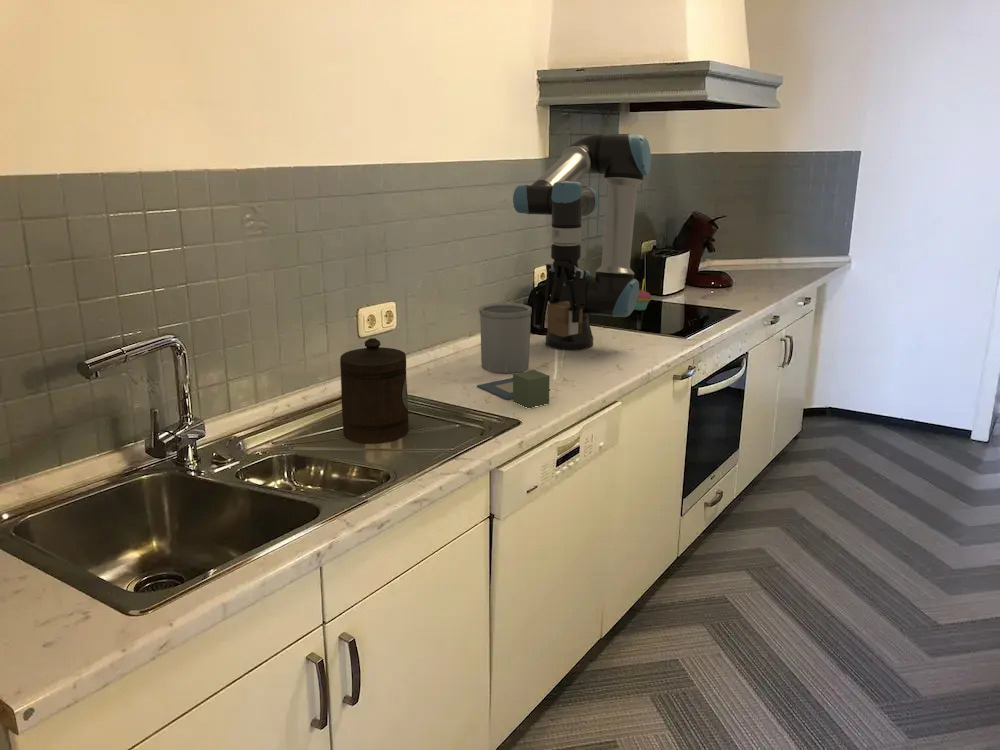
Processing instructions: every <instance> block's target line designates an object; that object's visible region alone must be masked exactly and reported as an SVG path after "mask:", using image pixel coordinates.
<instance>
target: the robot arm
mask: <svg viewBox="0 0 1000 750" xmlns="http://www.w3.org/2000/svg"><path fill="white" fill-rule="evenodd" d="M651 165H652V153H651V148H650V144H649V141H648V139H647V137H645V136H644V135H643V134H636V133H605V134H602V133H595V134H592V135H591V134H590V135H587V136H585V137H583V138H580V139H578V140H577V141H575V142H573V143H571V144H570V145H569V146H567V147H566V148H565V149H564V150H563V151H562V153H561V154H560V158H559V159H558V160H557V161H555V162H554V163H553V164H552V166H551V167H549V168H548V169H547V170H546V171H545V172H544V173H543V174H541V175H540V177H539V178H537V179H536V180H534V182H533V183H532V184H530V185H529V184H523V185H522V184H521V185H517V186H516V187H515V189H514V191H513V195H512V203H513V208H514V210H515V211H516V213H518V214H527V215H541V216H542V215H545V216H547V215H549V216H551V242H552V245H551V248H550V249H551V251H550V257H551V259H552V260H553V263H547V264H546V265H545V270H546V277H545V279H546V280H545V293H544V300H545V301H546V302H548V304H552V303H558V302H564V301H569V302H570V307H571V309H569V317H568V335H570V336H565V337H561V336H558V335H555V334H552V333H549V332H547V333H546V336H545V345H546V346H547V347H549V348H553V349H556V350H565V351H567V350H568V351H574V350H577V351H578V350H585V349H590V348H591V347H593V345H594V335H593V333H592V328H591V325H590V322H589V315H596V316H605V317H613V318H617V317H619V318H626V317H627V318H628V317H629V316H630V315H631V314H632V313H633V311H635V310H634V308H635V305H636V303H637V299H638V295H639V290H640V283H639V281H638V280H637V279H636V278H635V272H634V271H633V270H632V268H631V257H632V247H633V246H632V245H633V235H634V226H635V225H634V223H635V215H636V204H637V192H638V187H639V186H640V185H641V184H642V183H643V182H644V176H647V175H649V174H650V173H651V167H652V166H651ZM590 174H592V175H593V174H597V175H598V174H600V175H603V180H604V182H605V183H606V184H607V186H608V187H607V200H606V208H605V209H606V211H605V219H604V221H605V222H604V233H603V244H602V257H601V266H599V267H598V268H597V269H596V270H595V276H593V275H592V276H591V272H590V271H589V270H585V269H580V268H579V265H578V262H579V261H578V260H580V259H581V256H582V255H581V253H582V252H581V251H582V249H581V248H582V247H581V246H582V245H580V243H581V242H582V217H586V216H589V215H591V213H594V211H596V209H597V208H598V206H599V200H600V199H599V195H598V193H597V191H596V190H595V189H594V188H592V187H591V186H589V185H588V186H587V185H583V184H582V183H581V182H579V181H576V180H577V179H579V178H582V177H584V176H586V175H590ZM580 309H583V316H582V333H581V334H578V322H579V312H580ZM573 334H576V335H573Z"/></svg>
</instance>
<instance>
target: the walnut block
mask: <svg viewBox="0 0 1000 750" xmlns="http://www.w3.org/2000/svg"><path fill="white" fill-rule="evenodd" d="M569 309H571V307H570V302H569V301H564V302H558V303H552V304H550V303H547V324H546V325H547V326H546V327H547V330H546V331H547V333H548V332H549V333H552V334H555V335H558V336H561V337H565V336H570V335H568V317H569ZM582 316H583V309H580V312H579V322H578V334H581V333H582ZM573 335H576V334H573Z"/></svg>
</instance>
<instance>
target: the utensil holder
mask: <svg viewBox="0 0 1000 750" xmlns="http://www.w3.org/2000/svg"><path fill="white" fill-rule="evenodd" d="M532 311H533V310H532V306H529V305H526V304H523V303H516V302H515V303H514V302H493V303H487V304H483V305H481V306H479V308H478V312H479V313H478V314H479V315H480V359H481V360H480V361H481V368H482V369H483V370H485V371H487V372H492V373H498V374H515V373H520V372H525V371H527V370H528V368H529V365H530V348H531V325H532V324H531V315H532Z"/></svg>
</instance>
